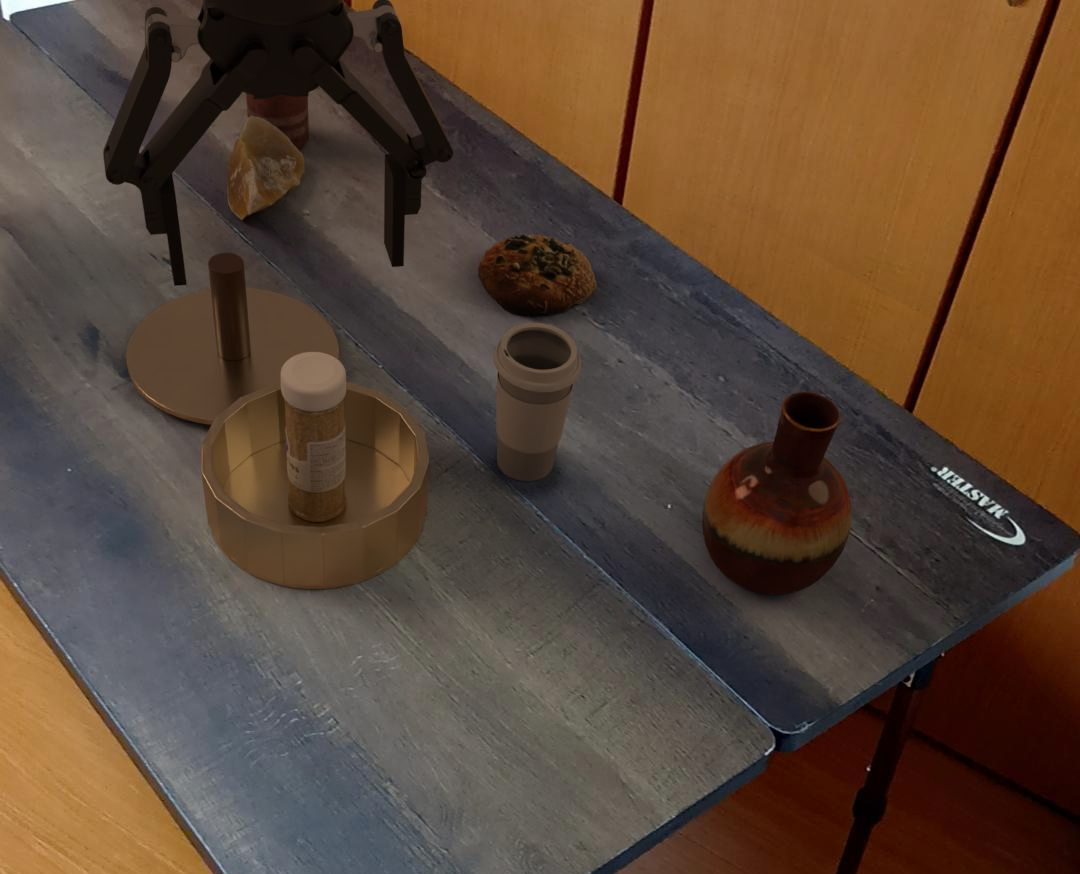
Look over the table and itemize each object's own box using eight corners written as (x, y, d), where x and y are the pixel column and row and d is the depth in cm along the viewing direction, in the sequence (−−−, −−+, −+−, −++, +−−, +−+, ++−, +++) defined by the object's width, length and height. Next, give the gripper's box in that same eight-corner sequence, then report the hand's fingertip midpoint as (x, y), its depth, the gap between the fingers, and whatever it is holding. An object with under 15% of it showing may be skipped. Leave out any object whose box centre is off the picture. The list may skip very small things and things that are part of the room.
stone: (289, 97, 131) (275, 173, 120) (309, 155, 135) (297, 233, 124) (220, 111, 131) (200, 188, 121) (242, 169, 136) (224, 247, 125)
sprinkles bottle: (280, 490, 103) (272, 355, 93) (337, 477, 104) (334, 343, 94) (297, 531, 100) (290, 396, 90) (355, 517, 101) (354, 384, 92)
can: (284, 164, 134) (278, 32, 124) (237, 141, 136) (227, 10, 126) (323, 140, 138) (320, 11, 128) (276, 119, 140) (269, -11, 130)
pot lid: (123, 436, 106) (105, 335, 98) (131, 300, 117) (115, 201, 110) (346, 426, 109) (345, 328, 102) (332, 295, 121) (330, 199, 113)
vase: (688, 598, 100) (730, 450, 89) (696, 496, 107) (736, 348, 96) (833, 623, 100) (893, 478, 88) (831, 519, 107) (886, 373, 96)
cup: (472, 440, 109) (481, 325, 101) (547, 426, 111) (562, 312, 103) (501, 499, 105) (514, 384, 96) (578, 483, 107) (597, 369, 98)
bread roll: (476, 314, 120) (482, 264, 117) (475, 257, 129) (481, 209, 126) (596, 325, 122) (605, 277, 118) (587, 268, 130) (596, 221, 127)
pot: (208, 598, 95) (201, 542, 91) (207, 438, 106) (201, 382, 102) (437, 583, 98) (440, 528, 94) (413, 429, 110) (415, 374, 105)
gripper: (16, -39, 63) (86, 318, 78) (519, -52, 69) (492, 281, 85) (14, -103, 68) (80, 245, 83) (484, -110, 74) (465, 215, 89)
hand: (288, 263), depth 84 cm, fingers open, 13 cm apart
